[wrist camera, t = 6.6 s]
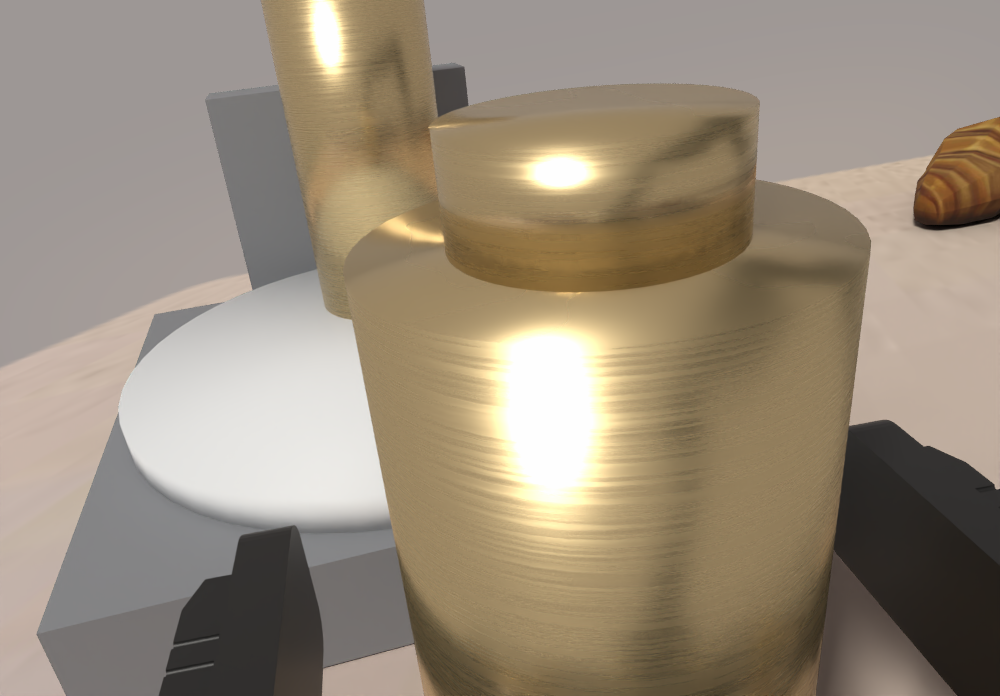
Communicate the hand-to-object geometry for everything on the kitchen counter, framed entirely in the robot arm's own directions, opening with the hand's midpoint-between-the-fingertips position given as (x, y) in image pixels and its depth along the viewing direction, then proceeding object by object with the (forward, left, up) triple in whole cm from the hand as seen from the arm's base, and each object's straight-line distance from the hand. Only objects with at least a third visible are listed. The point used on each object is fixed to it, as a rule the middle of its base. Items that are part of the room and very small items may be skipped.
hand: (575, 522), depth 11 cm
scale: (-6, -15, -7) cm, 17 cm away
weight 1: (-7, -17, -3) cm, 19 cm away
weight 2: (+1, +2, -7) cm, 7 cm away
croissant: (-42, -9, -7) cm, 43 cm away
